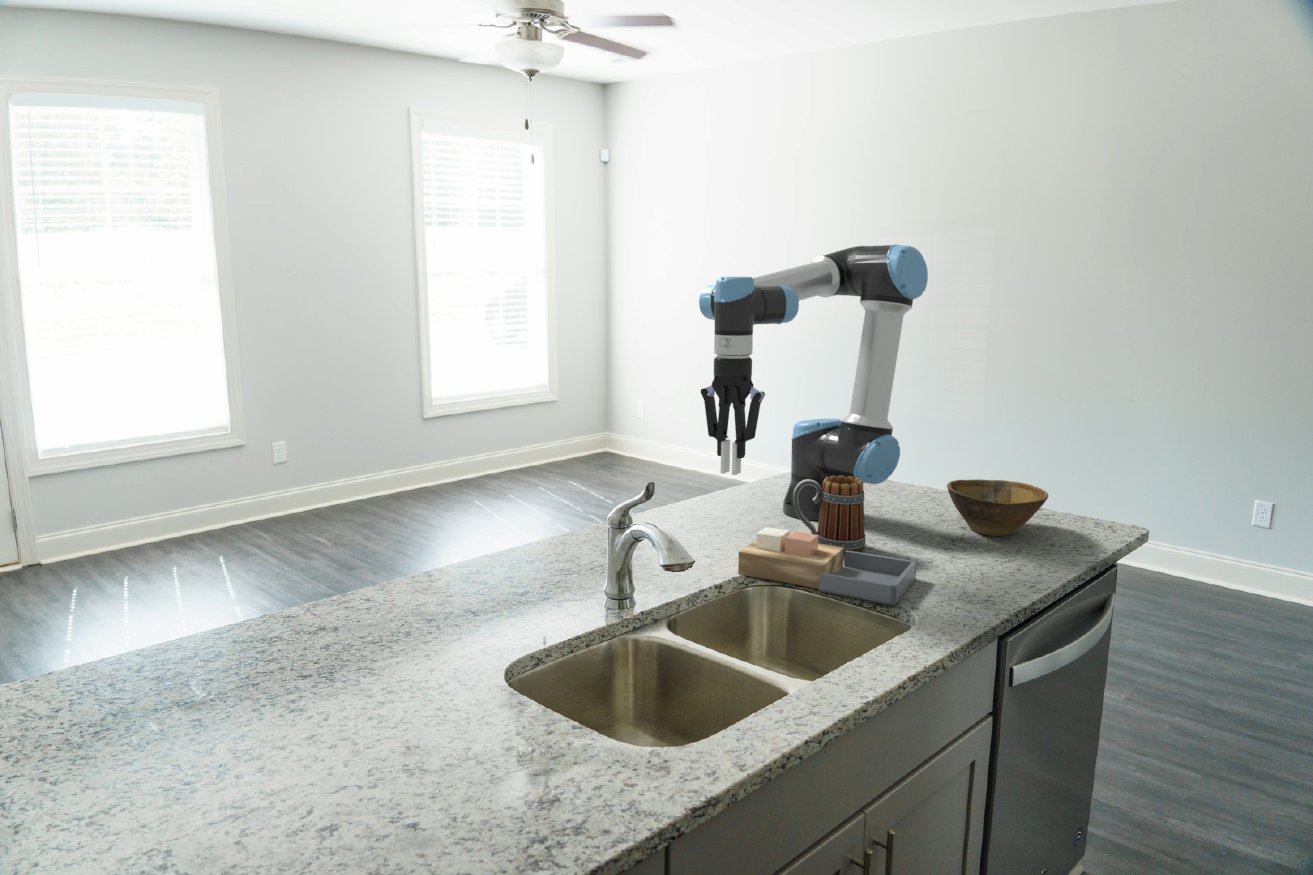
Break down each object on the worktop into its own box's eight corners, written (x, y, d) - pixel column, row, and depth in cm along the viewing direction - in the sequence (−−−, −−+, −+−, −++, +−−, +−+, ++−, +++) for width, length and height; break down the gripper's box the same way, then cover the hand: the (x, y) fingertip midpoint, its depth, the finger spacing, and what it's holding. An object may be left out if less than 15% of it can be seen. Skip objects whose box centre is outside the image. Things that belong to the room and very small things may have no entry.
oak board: (763, 555, 185) (764, 534, 184) (842, 568, 177) (843, 547, 176) (738, 573, 174) (738, 551, 173) (821, 589, 166) (822, 566, 165)
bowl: (1053, 526, 207) (1056, 484, 205) (1035, 552, 188) (1039, 506, 186) (957, 512, 218) (960, 472, 217) (931, 535, 200) (934, 492, 198)
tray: (845, 566, 178) (845, 550, 177) (915, 578, 171) (916, 561, 171) (818, 591, 164) (819, 573, 164) (894, 605, 158) (895, 586, 157)
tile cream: (765, 541, 180) (766, 527, 179) (789, 544, 177) (789, 530, 177) (756, 547, 175) (756, 533, 175) (779, 551, 173) (780, 537, 172)
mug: (862, 541, 195) (865, 475, 192) (868, 556, 185) (872, 486, 182) (790, 538, 196) (792, 473, 194) (792, 553, 186) (795, 484, 183)
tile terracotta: (793, 545, 177) (794, 531, 176) (817, 549, 174) (818, 535, 174) (784, 552, 173) (785, 537, 172) (809, 556, 170) (809, 541, 170)
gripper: (690, 355, 174) (689, 472, 179) (760, 359, 167) (757, 481, 172) (707, 352, 181) (705, 465, 185) (775, 356, 174) (772, 473, 178)
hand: (730, 472), depth 178 cm, fingers open, 2 cm apart
